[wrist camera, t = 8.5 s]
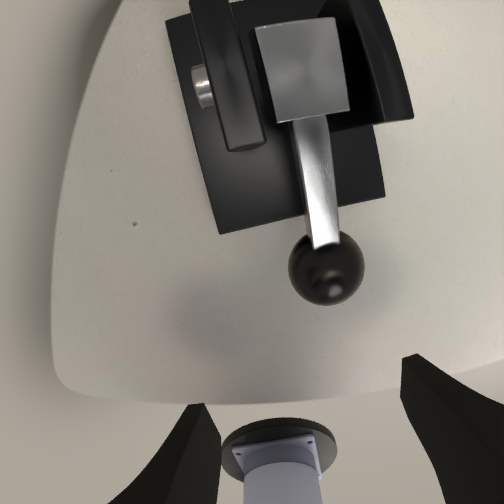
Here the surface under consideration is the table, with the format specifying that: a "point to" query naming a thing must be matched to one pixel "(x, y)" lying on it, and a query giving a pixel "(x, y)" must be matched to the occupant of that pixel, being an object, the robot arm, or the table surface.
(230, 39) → the bracket
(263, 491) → the robot arm
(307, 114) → the lever
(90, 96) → the table surface
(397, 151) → the table surface
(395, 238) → the table surface
